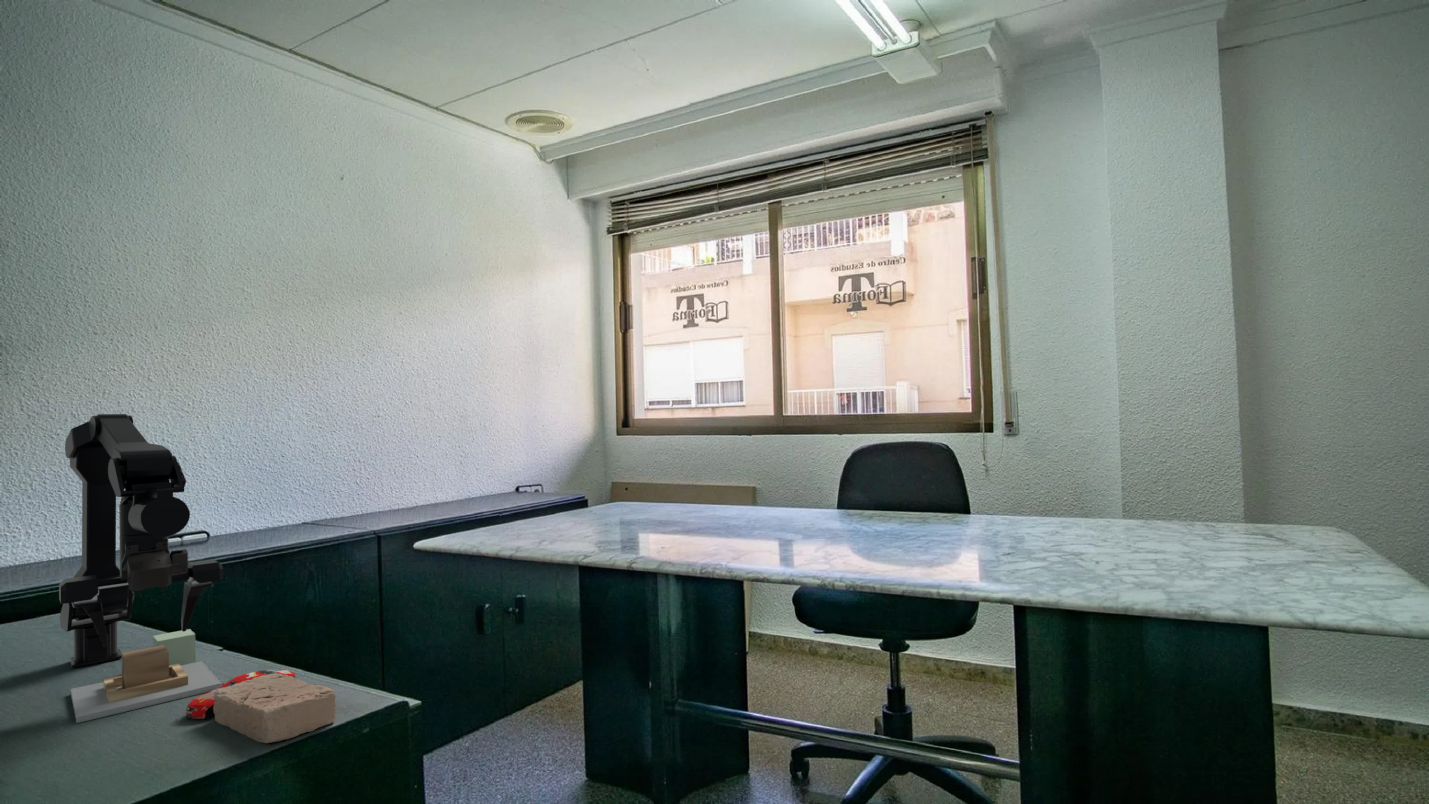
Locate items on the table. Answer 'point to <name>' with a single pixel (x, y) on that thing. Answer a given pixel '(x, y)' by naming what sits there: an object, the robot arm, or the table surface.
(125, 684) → the walnut block
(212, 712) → the race car
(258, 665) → the table surface
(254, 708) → the brick
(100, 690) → the baseplate
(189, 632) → the sage block
